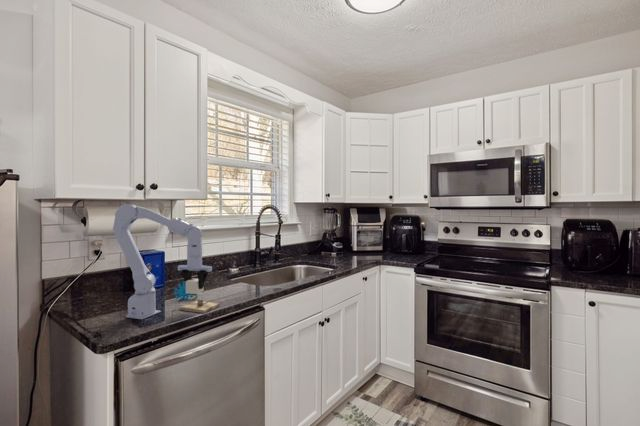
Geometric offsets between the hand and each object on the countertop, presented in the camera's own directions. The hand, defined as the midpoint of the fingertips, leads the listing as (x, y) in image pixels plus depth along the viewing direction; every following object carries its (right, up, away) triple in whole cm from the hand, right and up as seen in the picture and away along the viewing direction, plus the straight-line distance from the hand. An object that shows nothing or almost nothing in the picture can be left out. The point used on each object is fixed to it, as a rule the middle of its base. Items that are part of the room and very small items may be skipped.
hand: (194, 288), depth 135 cm
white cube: (0, -2, 0) cm, 2 cm away
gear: (-10, -9, +17) cm, 22 cm away
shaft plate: (+1, -9, +3) cm, 10 cm away
